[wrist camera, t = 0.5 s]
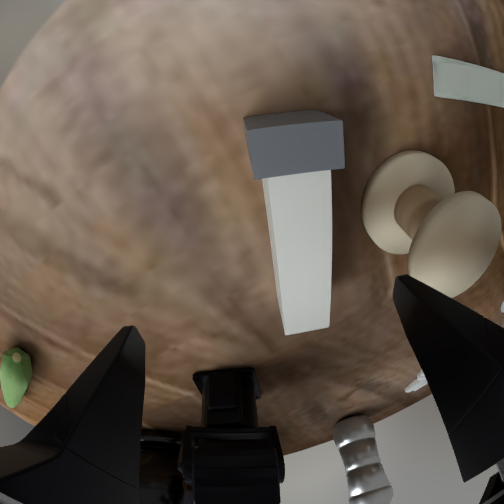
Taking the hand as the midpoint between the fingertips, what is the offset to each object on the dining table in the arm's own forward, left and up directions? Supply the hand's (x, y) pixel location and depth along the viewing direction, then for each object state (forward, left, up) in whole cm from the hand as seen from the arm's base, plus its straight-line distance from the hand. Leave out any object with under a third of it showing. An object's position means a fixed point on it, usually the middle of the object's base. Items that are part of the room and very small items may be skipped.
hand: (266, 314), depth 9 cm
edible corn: (-19, +36, -11) cm, 42 cm away
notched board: (+7, -21, -11) cm, 24 cm away
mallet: (-2, -3, -11) cm, 11 cm away
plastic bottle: (-40, -11, -11) cm, 42 cm away
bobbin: (-3, -12, -11) cm, 16 cm away
